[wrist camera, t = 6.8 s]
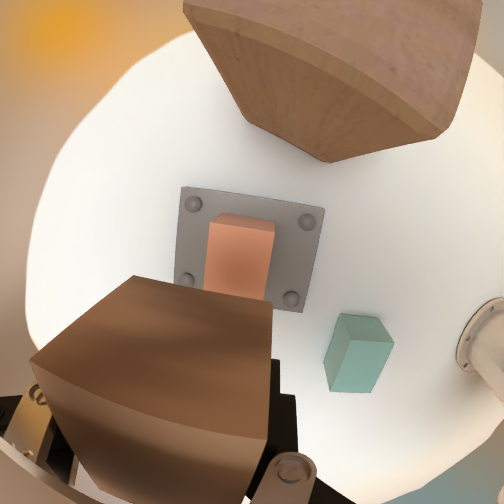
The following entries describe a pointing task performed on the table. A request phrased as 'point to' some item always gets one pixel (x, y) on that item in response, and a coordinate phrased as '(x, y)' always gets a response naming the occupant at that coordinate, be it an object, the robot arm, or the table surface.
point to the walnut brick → (163, 391)
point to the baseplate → (283, 249)
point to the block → (342, 67)
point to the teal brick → (357, 354)
